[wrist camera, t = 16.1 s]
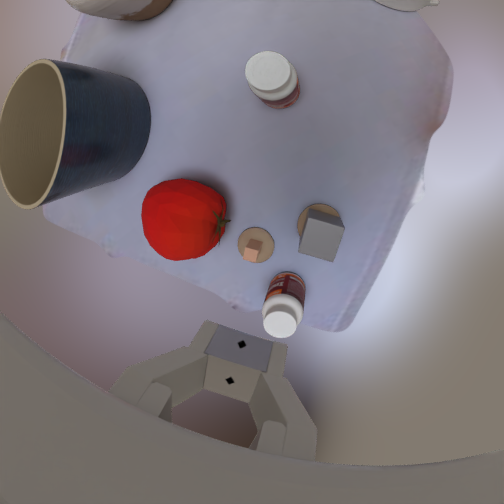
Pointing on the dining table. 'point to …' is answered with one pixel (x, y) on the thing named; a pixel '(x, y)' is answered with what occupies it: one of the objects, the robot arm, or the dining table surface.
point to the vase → (120, 8)
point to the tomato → (183, 218)
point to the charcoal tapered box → (321, 235)
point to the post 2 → (316, 207)
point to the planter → (69, 131)
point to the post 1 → (256, 245)
